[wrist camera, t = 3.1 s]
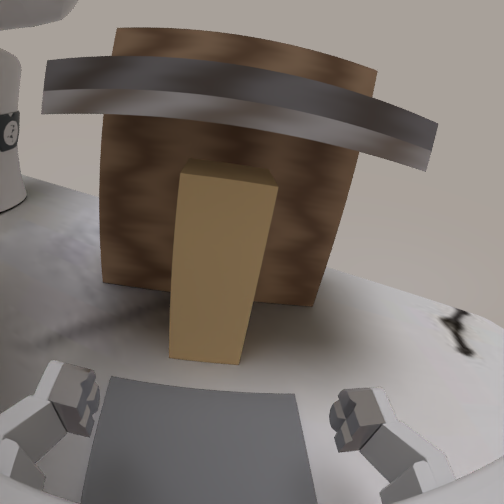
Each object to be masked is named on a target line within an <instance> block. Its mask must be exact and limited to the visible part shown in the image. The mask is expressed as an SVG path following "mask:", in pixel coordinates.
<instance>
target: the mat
mask: <svg viewBox="0 0 504 504" xmlns="http://www.w3.org/2000/svg"><path fill="white" fill-rule="evenodd" d="M80 504H317V499H316V494H315V489H314V484H313V479H312V474H311V469H310V465H309V460H308V455H307V450H306V445H305V441H304V436H303V431H302V426H301V421H300V417H299V412H298V407H297V403H296V398H295V394H273V393H246V392H230V391H216V390H205V389H195V388H185V387H177V386H169V385H162V384H155V383H148V382H142V381H135V380H130V379H124V378H118V377H113V376H111V378H110V382H109V385H108V389H107V392H106V396H105V399H104V403H103V406H102V410H101V414H100V417H99V421H98V425H97V429H96V433H95V437H94V441H93V445H92V450H91V454H90V458H89V463H88V467H87V472H86V477H85V482H84V487H83V492H82V498H81V503H80Z"/></svg>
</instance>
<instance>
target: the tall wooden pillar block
mask: <svg viewBox="0 0 504 504" xmlns="http://www.w3.org/2000/svg"><path fill="white" fill-rule="evenodd" d="M277 192H278V185H277V183H276V182H275V180H274V178H273V176H272V174H271V173H270V171H269V169H263V168H257V167H251V166H244V165H237V164H231V163H224V162H216V161H209V160H201V159H193V158H189V159H188V161H187V163H186V164H185V166H184V168H183V169H182V171H181V173H180V180H179V189H178V199H177V209H176V220H175V232H174V245H173V260H172V277H171V298H170V328H169V358H174V359H182V360H191V361H200V362H210V363H221V364H233V365H239V361H240V357H241V353H242V349H243V344H244V340H245V336H246V331H247V327H248V322H249V318H250V314H251V309H252V305H253V300H254V296H255V292H256V287H257V283H258V278H259V274H260V269H261V265H262V260H263V256H264V251H265V247H266V242H267V238H268V233H269V229H270V224H271V220H272V215H273V210H274V206H275V201H276V197H277Z"/></svg>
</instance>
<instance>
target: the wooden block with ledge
mask: <svg viewBox="0 0 504 504" xmlns="http://www.w3.org/2000/svg"><path fill="white" fill-rule="evenodd" d="M376 76H377V71H376V70H374V69H371V68H368V67H365V66H362V65H359V64H356V63H354V62H351V61H348V60H344V59H341V58H338V57H335V56H331V55H328V54H324V53H321V52H317V51H314V50H310V49H305V48H302V47H298V46H293V45H289V44H285V43H280V42H275V41H270V40H265V39H260V38H254V37H248V36H242V35H236V34H228V33H220V32H212V31H202V30H190V29H176V28H175V29H174V28H117V31H116V36H115V41H114V46H113V51H112V56H100V57H80V58H66V59H57V60H48V61H47V66H46V73H45V81H44V90H43V101H42V113H41V114H104V116H103V127H102V140H101V157H100V158H101V159H100V188H99V219H100V248H101V265H102V278H103V282H105V283H111V284H118V285H124V286H131V287H138V288H145V289H152V290H160V291H167V292H171V277H172V260H173V245H174V232H175V220H176V209H177V199H178V189H179V180H180V173H181V171H182V169H183V168H184V166H185V164H186V163H187V161H188V159H189V158H193V159H201V160H209V161H216V162H224V163H231V164H237V165H244V166H251V167H257V168H263V169H269V171H270V173H271V174H272V176H273V178H274V180H275V182H276V183H277V185H278V192H277V197H276V201H275V206H274V210H273V215H272V220H271V224H270V229H269V233H268V238H267V242H266V247H265V251H264V256H263V260H262V265H261V269H260V274H259V278H258V283H257V287H256V292H255V296H254V300H253V301H254V302H265V303H275V304H287V305H298V306H311V307H313V304H314V301H315V298H316V295H317V292H318V289H319V286H320V283H321V280H322V277H323V274H324V271H325V268H326V265H327V262H328V259H329V256H330V253H331V250H332V246H333V243H334V240H335V237H336V234H337V230H338V227H339V224H340V220H341V217H342V213H343V210H344V207H345V203H346V200H347V196H348V192H349V189H350V185H351V181H352V178H353V174H354V170H355V166H356V163H357V159H358V155H359V152H363V153H366V154H370V155H373V156H377V157H380V158H384V159H387V160H390V161H394V162H397V163H400V164H403V165H406V166H410V167H413V168H416V169H419V170H422V171H425V172H426V169H427V165H428V162H429V158H430V155H431V151H432V147H433V143H434V139H435V135H436V131H437V127H438V123H436V122H433V121H431V120H429V119H426V118H424V117H422V116H419V115H417V114H415V113H412V112H409V111H407V110H404V109H402V108H399V107H397V106H394V105H391V104H389V103H386V102H383V101H381V100H378V99H375V98H372V95H373V91H374V86H375V81H376Z"/></svg>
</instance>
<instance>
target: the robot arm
mask: <svg viewBox="0 0 504 504" xmlns="http://www.w3.org/2000/svg"><path fill="white" fill-rule="evenodd" d="M77 1H78V0H0V31H1V30H8V29H15V28H25V27H35V26H39V25H42V24H46V23H51V22H55V21H59V20H62V19H63V18H64V17H66V16H67V15H68V14H69V12H71V10H72V9H73V8H74V7H75V5H76V3H77ZM20 77H21V65H20V62H19V60H18V59H17V57H16V56H14V55H12V54H11V53H9V52H7V51H5V50H3V49H0V212H2V211H4V210H7V209H9V208H11V207H13V206H15V205H17V204H19V203H20V202H21V201H23V200H24V199H25V197H26V196H27V192H26V189H25V186H24V183H23V180H22V175H21V171H20V165H19V158H18V148H17V142H18V135H19V116H20V113H19V111H17V109H18V97H19V86H20ZM95 378H96V375H95V372H94V370H91V369H87V368H83V367H79V366H75V365H71V364H67V363H64V362H60V361H56V360H51V361H50V362H49V363H48V365H47V367H46V369H45V371H44V373H43V376H42V378H41V380H40V382H39V384H38V386H37V388H36V391H35V393H34V395H33V396H31V395H29V396H27V397H26V398H24V399H22V400H21V401H19V402H18V403H16V404H15V405H13V406H12V407H10V408H9V409H7V410H6V411H4V412H2V413H1V414H0V504H79V503H76V502H73V501H69V500H66V499H63V498H60V497H57V496H54V495H52V494H49V493H46V492H44V491H43V486H44V482H45V478H46V477H45V475H44V473H43V472H42V471H41V470H40V469H39V468H38V467H37V466H36V465H35V463H36V462H37V461H38V460H39V459H40V458H41V457H42V456H43V455H44V454H46V453H47V452H48V451H49V450H50V449H51V448H52V447H53V446H54V445H55V444H56V443H57V442H58V441H60V440H61V439H62V438H63V437H64V436H65V435H66V434H67V432H69V433H73V434H77V435H81V436H85V437H89V438H90V435H91V432H92V428H93V424H94V420H93V417H92V415H93V414H94V413H95V412H97V410H98V406H99V400H100V390H99V386H98V385H97V384H96V383H95V382H94V381H95ZM338 398H339V400H338V401H336V402H335V403H333V405H332V407H331V409H330V414H329V419H330V424H331V428H333V429H334V430H335V431H336V432H337V433H336V435H335V437H334V439H335V442H336V446H337V449H338V453H340V452H349V451H358V450H360V451H359V452H360V453H361V454H362V455H363V456H364V457H365V458H366V459H367V460H368V461H369V462H370V463H371V464H372V465H373V466H374V467H375V468H376V469H377V470H378V471H379V472H380V473H381V474H382V475H383V476H384V477H385V478H386V479H387V480H388V481H389V482H390V484H389V485H387V486H386V487H385V488H383V489H382V490H381V491H380V497H381V500H382V504H504V456H503V457H501V458H499V459H497V460H495V461H494V462H492V463H490V464H488V465H486V466H484V467H482V468H480V469H478V470H476V471H474V472H472V473H470V474H468V475H466V476H463V477H461V478H459V479H457V480H456V478H455V476H454V473H453V471H452V469H451V466H450V464H449V462H448V460H447V457H446V455H445V453H444V452H442V451H441V450H440V449H438V448H437V447H436V446H434V445H433V444H432V443H430V442H429V441H428V440H426V439H425V438H424V437H422V436H421V435H420V434H418V433H417V432H416V431H414V430H413V429H412V428H410V427H409V426H408V425H406V424H405V423H404V422H402V421H398V419H397V417H396V415H395V412H394V410H393V408H392V406H391V404H390V401H389V399H388V397H387V395H386V393H385V390H384V389H383V388H382V387H373V388H356V389H343V390H342V391H341V392H340V393H339V395H338Z"/></svg>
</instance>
